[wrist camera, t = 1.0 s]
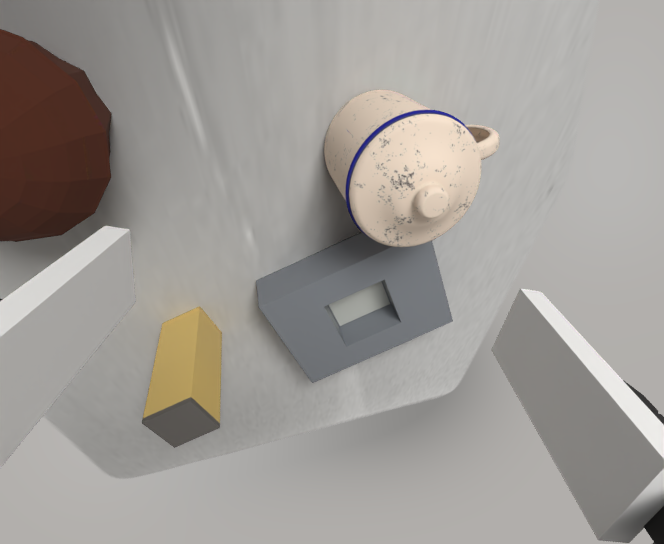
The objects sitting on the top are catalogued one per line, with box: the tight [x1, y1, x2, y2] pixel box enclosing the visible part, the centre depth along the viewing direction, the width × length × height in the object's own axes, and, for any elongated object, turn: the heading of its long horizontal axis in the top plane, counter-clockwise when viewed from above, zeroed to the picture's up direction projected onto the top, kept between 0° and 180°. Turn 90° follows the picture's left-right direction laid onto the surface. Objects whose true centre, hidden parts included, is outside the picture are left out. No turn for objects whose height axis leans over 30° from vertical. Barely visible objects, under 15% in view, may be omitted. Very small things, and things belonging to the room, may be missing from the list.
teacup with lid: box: [324, 90, 499, 247], centre depth 27 cm, size 12×9×12 cm
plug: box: [142, 306, 222, 448], centre depth 34 cm, size 4×4×11 cm
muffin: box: [0, 29, 111, 242], centre depth 22 cm, size 12×11×10 cm
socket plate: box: [256, 232, 453, 383], centre depth 38 cm, size 12×16×4 cm
